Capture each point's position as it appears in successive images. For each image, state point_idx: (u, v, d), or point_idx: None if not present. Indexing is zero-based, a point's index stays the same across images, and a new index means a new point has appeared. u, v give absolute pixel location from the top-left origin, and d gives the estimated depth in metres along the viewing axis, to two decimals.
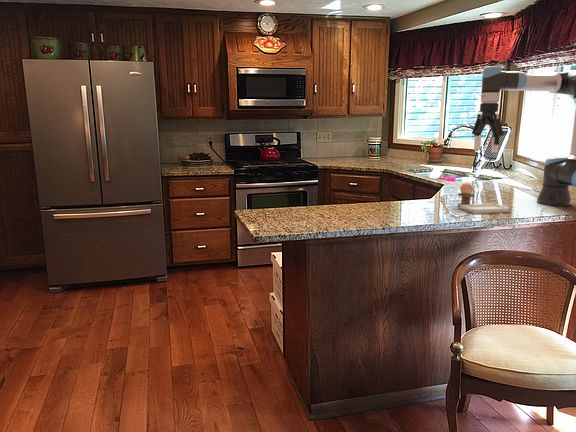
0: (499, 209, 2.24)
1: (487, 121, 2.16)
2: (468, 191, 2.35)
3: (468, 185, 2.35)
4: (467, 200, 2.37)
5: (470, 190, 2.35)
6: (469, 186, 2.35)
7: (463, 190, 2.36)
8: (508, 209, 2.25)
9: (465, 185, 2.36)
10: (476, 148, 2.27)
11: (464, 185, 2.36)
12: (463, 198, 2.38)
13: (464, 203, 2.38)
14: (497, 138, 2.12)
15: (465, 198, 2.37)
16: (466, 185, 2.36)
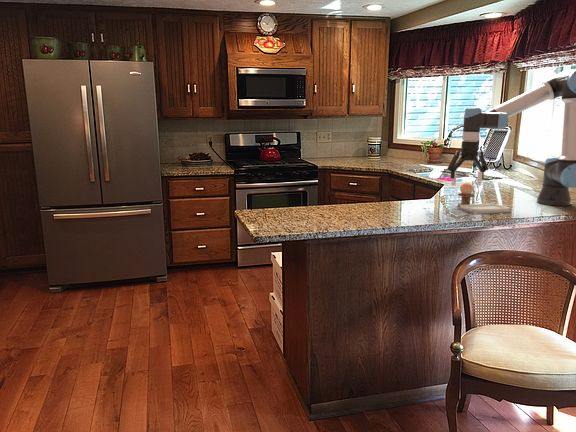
0: (499, 209, 2.24)
1: (462, 157, 2.36)
2: (468, 191, 2.35)
3: (468, 185, 2.35)
4: (467, 200, 2.37)
5: (470, 190, 2.35)
6: (469, 186, 2.35)
7: (463, 190, 2.36)
8: (508, 209, 2.25)
9: (465, 185, 2.36)
10: (477, 183, 2.39)
11: (464, 185, 2.36)
12: (463, 198, 2.38)
13: (464, 203, 2.38)
14: (451, 172, 2.35)
15: (465, 198, 2.37)
16: (466, 185, 2.36)
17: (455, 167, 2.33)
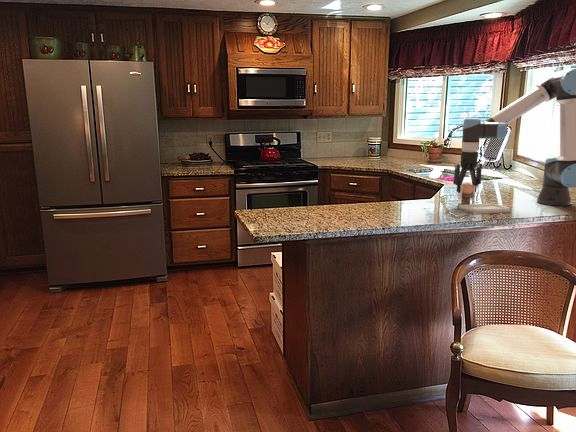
0: (499, 209, 2.24)
1: None
2: (468, 191, 2.35)
3: (468, 185, 2.35)
4: (467, 200, 2.37)
5: (470, 190, 2.35)
6: (469, 186, 2.35)
7: (463, 190, 2.36)
8: (508, 209, 2.25)
9: (465, 185, 2.36)
10: (470, 197, 2.40)
11: (464, 185, 2.36)
12: (463, 198, 2.38)
13: (464, 203, 2.38)
14: (457, 186, 2.37)
15: (465, 198, 2.37)
16: (466, 185, 2.36)
17: (460, 181, 2.35)
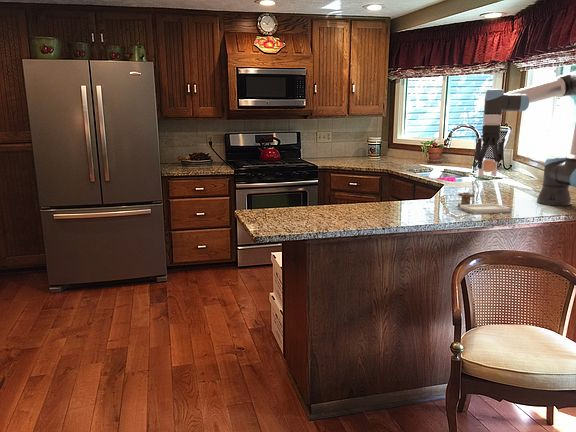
0: (499, 209, 2.24)
1: None
2: (490, 168, 2.22)
3: (489, 161, 2.22)
4: (467, 200, 2.37)
5: (492, 167, 2.22)
6: (491, 162, 2.22)
7: (484, 167, 2.23)
8: (508, 209, 2.25)
9: (486, 162, 2.23)
10: (492, 173, 2.27)
11: (485, 162, 2.23)
12: (463, 198, 2.38)
13: (464, 203, 2.38)
14: (478, 162, 2.24)
15: (465, 198, 2.37)
16: (487, 162, 2.23)
17: (481, 156, 2.22)
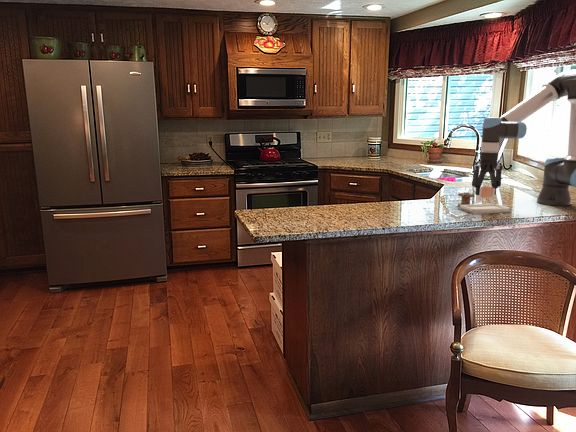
0: (499, 209, 2.24)
1: None
2: (488, 194, 2.25)
3: (487, 188, 2.25)
4: (467, 200, 2.37)
5: (490, 193, 2.25)
6: (489, 189, 2.25)
7: (482, 194, 2.26)
8: (508, 209, 2.25)
9: (484, 188, 2.25)
10: (489, 199, 2.29)
11: (483, 188, 2.26)
12: (463, 198, 2.38)
13: (464, 203, 2.38)
14: (476, 189, 2.26)
15: (465, 198, 2.37)
16: (485, 188, 2.25)
17: (479, 183, 2.25)
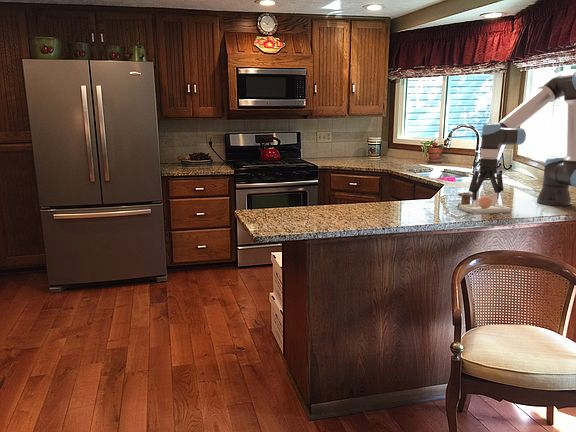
0: (499, 209, 2.24)
1: None
2: (487, 205, 2.26)
3: (486, 198, 2.26)
4: (467, 200, 2.37)
5: (489, 203, 2.26)
6: (488, 199, 2.26)
7: (482, 204, 2.27)
8: (508, 209, 2.25)
9: (483, 199, 2.26)
10: (492, 204, 2.30)
11: (482, 199, 2.27)
12: (463, 198, 2.38)
13: (464, 203, 2.38)
14: (473, 194, 2.27)
15: (465, 198, 2.37)
16: (484, 199, 2.26)
17: (476, 188, 2.25)
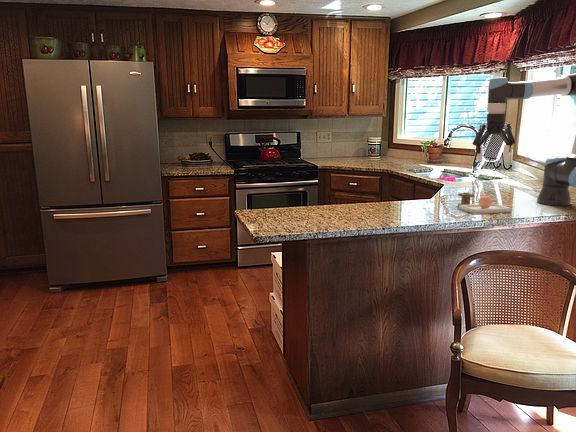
0: (499, 209, 2.24)
1: None
2: (487, 205, 2.26)
3: (486, 198, 2.26)
4: (467, 200, 2.37)
5: (489, 203, 2.26)
6: (488, 199, 2.26)
7: (482, 204, 2.27)
8: (508, 209, 2.25)
9: (483, 199, 2.26)
10: (504, 158, 2.28)
11: (482, 199, 2.27)
12: (463, 198, 2.38)
13: (464, 203, 2.38)
14: (476, 147, 2.23)
15: (465, 198, 2.37)
16: (484, 199, 2.26)
17: (481, 141, 2.21)
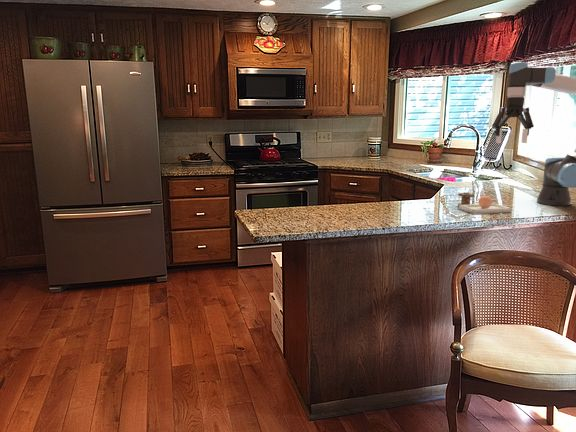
0: (499, 209, 2.24)
1: (507, 114, 2.32)
2: (487, 205, 2.26)
3: (486, 198, 2.26)
4: (467, 200, 2.37)
5: (489, 203, 2.26)
6: (488, 199, 2.26)
7: (482, 204, 2.27)
8: (508, 209, 2.25)
9: (483, 199, 2.26)
10: (522, 141, 2.35)
11: (482, 199, 2.27)
12: (463, 198, 2.38)
13: (464, 203, 2.38)
14: (496, 130, 2.30)
15: (465, 198, 2.37)
16: (484, 199, 2.26)
17: (500, 124, 2.29)
